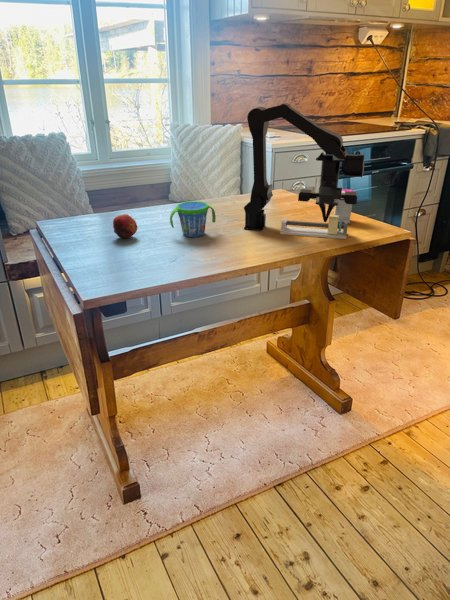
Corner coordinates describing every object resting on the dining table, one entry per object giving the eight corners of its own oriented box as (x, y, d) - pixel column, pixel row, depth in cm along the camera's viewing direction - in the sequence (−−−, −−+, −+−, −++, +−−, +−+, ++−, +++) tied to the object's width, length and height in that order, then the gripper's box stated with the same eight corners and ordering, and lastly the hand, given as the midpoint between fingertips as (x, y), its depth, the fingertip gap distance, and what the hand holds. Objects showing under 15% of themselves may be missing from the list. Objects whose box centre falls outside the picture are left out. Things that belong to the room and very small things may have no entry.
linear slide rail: (280, 234, 159) (281, 220, 157) (282, 228, 164) (283, 215, 162) (346, 239, 154) (347, 225, 152) (346, 233, 160) (348, 219, 157)
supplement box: (350, 224, 168) (353, 193, 163) (333, 223, 169) (336, 192, 164) (349, 219, 173) (353, 189, 168) (333, 218, 174) (336, 188, 169)
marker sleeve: (327, 233, 156) (329, 219, 153) (328, 229, 160) (329, 215, 158) (336, 234, 155) (338, 219, 153) (337, 230, 159) (338, 215, 157)
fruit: (141, 235, 159) (139, 212, 155) (131, 243, 152) (129, 219, 148) (120, 233, 160) (118, 210, 157) (110, 241, 154) (107, 217, 150)
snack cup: (173, 241, 153) (171, 211, 149) (168, 231, 162) (167, 202, 158) (219, 237, 157) (218, 207, 152) (212, 227, 166) (211, 199, 161)
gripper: (298, 179, 144) (294, 227, 152) (359, 182, 140) (353, 231, 148) (301, 171, 154) (298, 217, 161) (359, 174, 150) (353, 221, 157)
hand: (325, 221), depth 156 cm, fingers closed
